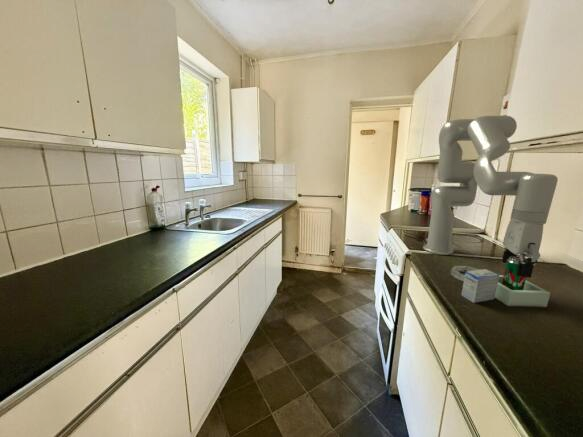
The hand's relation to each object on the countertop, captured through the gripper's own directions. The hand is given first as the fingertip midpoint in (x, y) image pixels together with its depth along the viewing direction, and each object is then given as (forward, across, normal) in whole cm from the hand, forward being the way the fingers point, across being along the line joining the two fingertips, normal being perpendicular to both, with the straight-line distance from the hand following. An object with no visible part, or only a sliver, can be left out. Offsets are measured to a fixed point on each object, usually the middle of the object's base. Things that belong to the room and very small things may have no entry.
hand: (515, 269), depth 72 cm
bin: (+9, +1, 0) cm, 9 cm away
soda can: (+9, 0, 0) cm, 9 cm away
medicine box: (+9, +6, -10) cm, 15 cm away
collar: (+10, -10, -8) cm, 16 cm away
